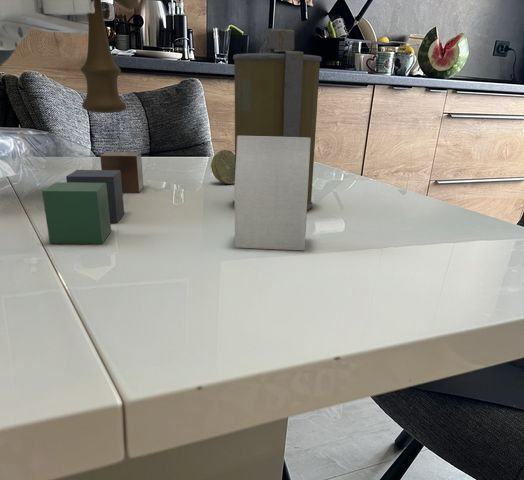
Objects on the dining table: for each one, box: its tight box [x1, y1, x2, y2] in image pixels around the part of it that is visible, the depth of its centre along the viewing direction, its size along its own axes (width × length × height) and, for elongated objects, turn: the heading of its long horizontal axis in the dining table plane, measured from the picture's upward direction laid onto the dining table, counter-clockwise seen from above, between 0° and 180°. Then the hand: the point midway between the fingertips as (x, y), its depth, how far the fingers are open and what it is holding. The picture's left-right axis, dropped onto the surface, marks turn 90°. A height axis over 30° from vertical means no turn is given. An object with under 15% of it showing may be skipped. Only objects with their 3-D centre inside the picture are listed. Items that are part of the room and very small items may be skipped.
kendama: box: [80, 0, 139, 114], centre depth 63 cm, size 6×10×20 cm, turn 82°
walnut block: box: [99, 151, 144, 194], centre depth 79 cm, size 5×5×5 cm
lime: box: [210, 149, 235, 185], centre depth 86 cm, size 4×5×5 cm
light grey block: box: [234, 136, 311, 251], centre depth 52 cm, size 4×7×10 cm, turn 85°
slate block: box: [65, 169, 125, 224], centre depth 62 cm, size 5×5×5 cm
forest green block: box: [41, 181, 112, 245], centre depth 54 cm, size 5×5×5 cm
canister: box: [232, 28, 323, 211], centre depth 67 cm, size 11×10×20 cm
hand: (102, 8), depth 62 cm, fingers closed on kendama, 4 cm apart
